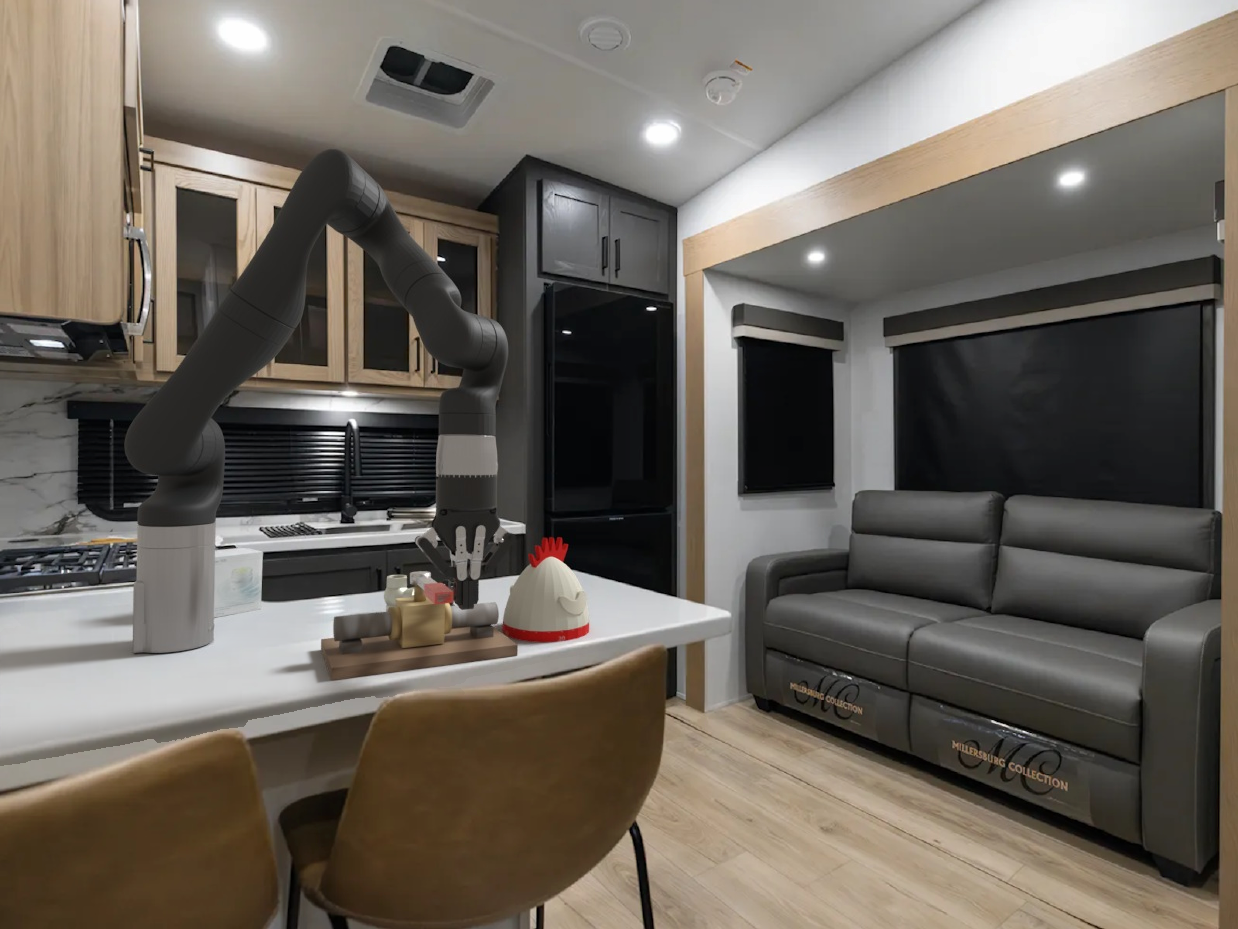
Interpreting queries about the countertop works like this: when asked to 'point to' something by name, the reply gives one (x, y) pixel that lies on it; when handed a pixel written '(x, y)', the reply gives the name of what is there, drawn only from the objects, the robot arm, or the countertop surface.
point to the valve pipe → (414, 638)
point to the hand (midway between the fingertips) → (465, 608)
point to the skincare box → (237, 581)
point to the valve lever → (432, 587)
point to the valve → (404, 589)
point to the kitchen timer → (546, 599)
